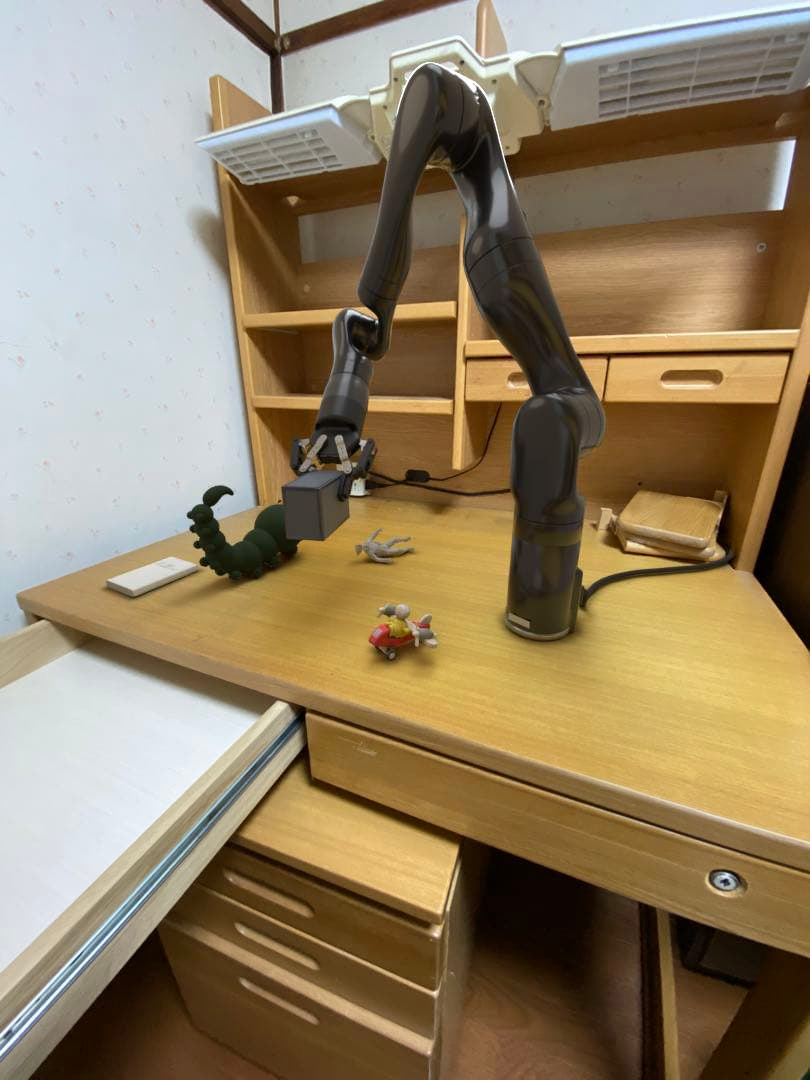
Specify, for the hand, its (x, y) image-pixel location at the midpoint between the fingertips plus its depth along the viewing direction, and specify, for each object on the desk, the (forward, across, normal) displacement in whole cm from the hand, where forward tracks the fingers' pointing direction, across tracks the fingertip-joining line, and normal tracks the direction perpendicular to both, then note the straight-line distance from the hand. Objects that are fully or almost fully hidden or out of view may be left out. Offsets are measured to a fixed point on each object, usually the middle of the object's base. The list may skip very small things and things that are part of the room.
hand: (321, 498), depth 69 cm
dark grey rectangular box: (+4, 0, +2) cm, 4 cm away
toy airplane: (+19, +15, +6) cm, 25 cm away
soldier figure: (-2, +4, +27) cm, 28 cm away
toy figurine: (+5, -18, +20) cm, 28 cm away
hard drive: (+11, -35, +14) cm, 39 cm away
